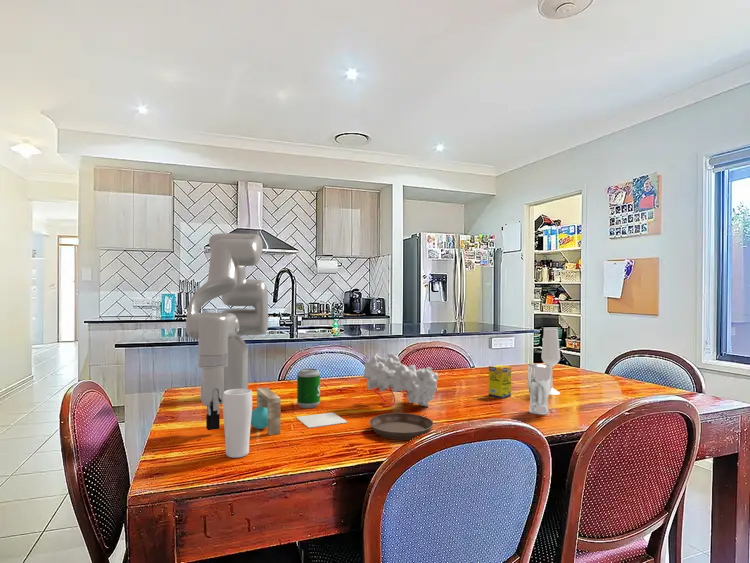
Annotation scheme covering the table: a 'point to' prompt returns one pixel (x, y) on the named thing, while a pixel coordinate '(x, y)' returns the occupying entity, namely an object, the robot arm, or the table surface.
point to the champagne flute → (551, 352)
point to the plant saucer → (400, 425)
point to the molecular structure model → (400, 379)
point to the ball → (259, 418)
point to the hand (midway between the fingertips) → (212, 428)
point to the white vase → (539, 388)
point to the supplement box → (500, 381)
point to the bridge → (270, 408)
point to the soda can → (308, 388)
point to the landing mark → (321, 420)
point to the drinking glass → (237, 421)
